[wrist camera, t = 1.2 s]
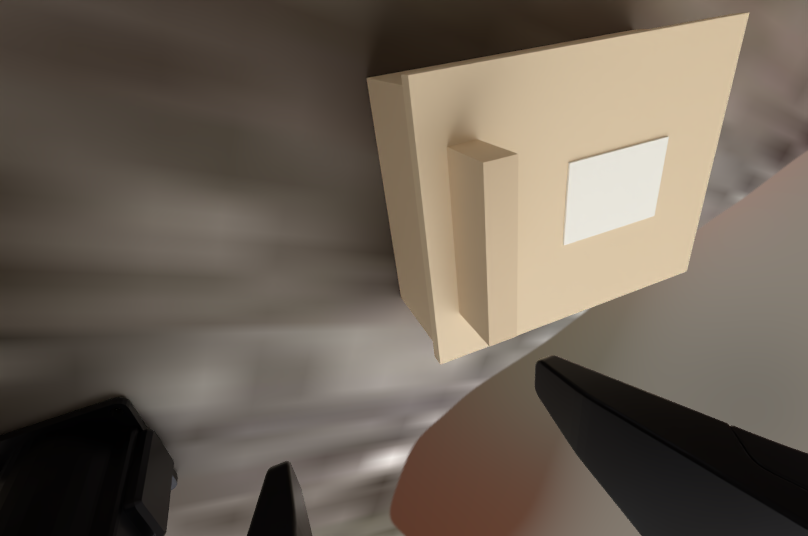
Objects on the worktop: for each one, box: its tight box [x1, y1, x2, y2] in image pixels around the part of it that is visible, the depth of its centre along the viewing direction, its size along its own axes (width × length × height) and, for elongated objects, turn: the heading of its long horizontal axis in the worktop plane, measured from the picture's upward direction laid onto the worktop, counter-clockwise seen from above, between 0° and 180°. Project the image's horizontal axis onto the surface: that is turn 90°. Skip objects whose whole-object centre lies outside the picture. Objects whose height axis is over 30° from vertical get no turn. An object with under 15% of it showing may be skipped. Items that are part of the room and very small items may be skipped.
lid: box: [401, 13, 749, 365], centre depth 17 cm, size 14×12×3 cm
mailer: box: [367, 29, 647, 341], centre depth 20 cm, size 14×11×4 cm
